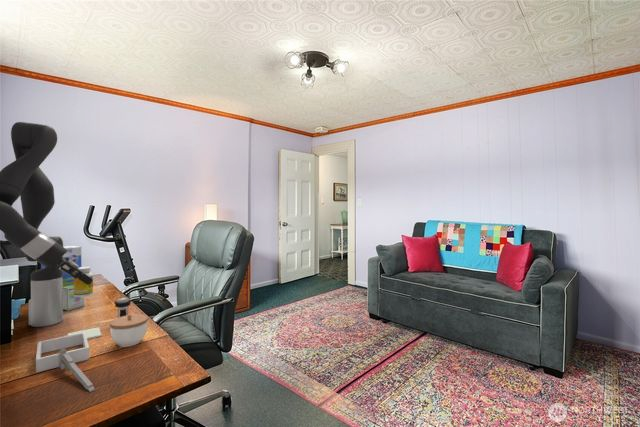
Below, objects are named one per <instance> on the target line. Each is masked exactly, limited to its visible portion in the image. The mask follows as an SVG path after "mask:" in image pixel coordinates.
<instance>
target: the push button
mask: <svg viewBox="0 0 640 427" xmlns="http://www.w3.org/2000/svg"><path fill="white" fill-rule="evenodd" d="M131 302H132V299H130V298H129V297H121V298H120V297H119V298H117V300H116V301H115V302H114V305H115V306H114V307H115V308H116V310H117V311H116V312H117V316H116V318H119V317H122V316H127V315H129V314H130V313H129V312H130V311H129V306H130V305H131Z"/></svg>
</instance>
